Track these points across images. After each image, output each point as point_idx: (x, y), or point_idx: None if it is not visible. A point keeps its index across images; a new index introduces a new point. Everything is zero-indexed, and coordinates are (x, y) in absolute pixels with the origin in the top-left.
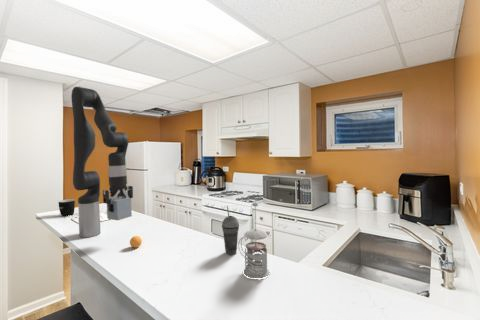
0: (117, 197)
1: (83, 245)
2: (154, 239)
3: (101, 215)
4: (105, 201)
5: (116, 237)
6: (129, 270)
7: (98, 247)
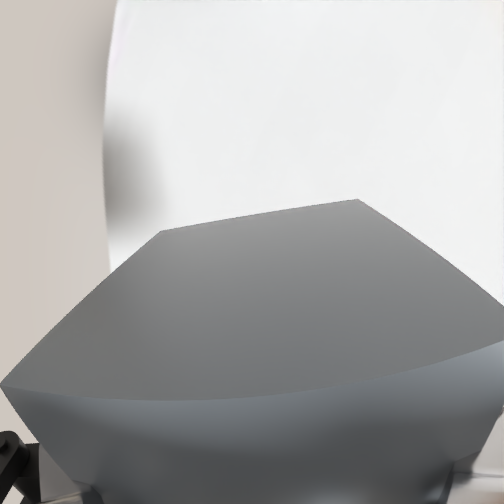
0: (403, 378)
1: (125, 78)
2: None
3: None
4: (15, 483)
5: (307, 101)
6: None
7: (162, 178)
